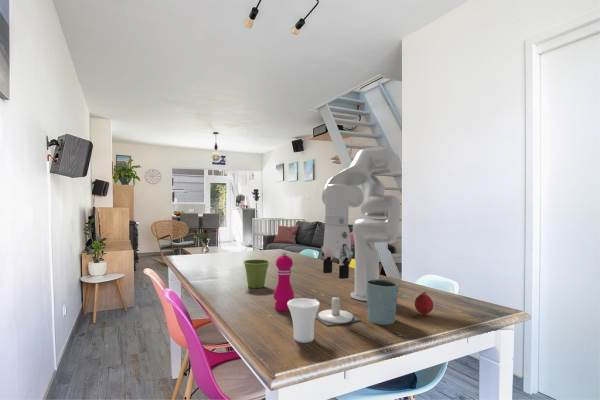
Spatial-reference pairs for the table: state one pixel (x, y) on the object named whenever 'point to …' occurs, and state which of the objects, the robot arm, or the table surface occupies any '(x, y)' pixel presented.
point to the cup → (303, 318)
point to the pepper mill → (283, 282)
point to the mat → (335, 323)
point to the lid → (336, 313)
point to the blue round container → (381, 301)
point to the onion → (423, 304)
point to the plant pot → (256, 272)
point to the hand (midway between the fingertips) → (335, 275)
